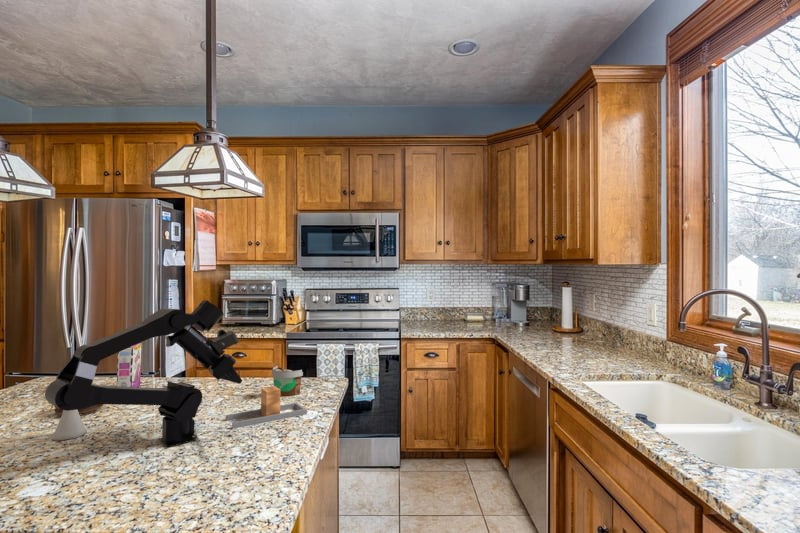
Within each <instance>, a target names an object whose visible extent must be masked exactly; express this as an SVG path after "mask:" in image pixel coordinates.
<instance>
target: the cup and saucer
mask: <svg viewBox="0 0 800 533" xmlns="http://www.w3.org/2000/svg"><path fill="white" fill-rule="evenodd" d="M104 405H105V404H100V405H96V406H93V407H89V408H84V409H78V412H79V415H80V416H83V415H86V414H90V413H94V412H95V411H97V410H100V409H101V408H102V407H103V406H104ZM54 413H55V414H57V415H58V416H62V413H63V410H62V409H60V408H58V407H56V406H54Z"/></svg>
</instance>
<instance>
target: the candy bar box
mask: <svg viewBox="0 0 800 533" xmlns="http://www.w3.org/2000/svg"><path fill="white" fill-rule="evenodd" d="M142 344H143V342H141V343H138V344H136V345H134V346H132V347H129V348H127V349H125V350H122V351H120V352H118V353H117V365H116V366H117V367H116V386H122V387H141V371H142V369H141V368H142V366H141V365H142V348H143V345H142Z"/></svg>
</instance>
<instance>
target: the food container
mask: <svg viewBox="0 0 800 533" xmlns="http://www.w3.org/2000/svg"><path fill="white" fill-rule="evenodd" d="M270 375H271V377H272V379H273V386H276V387H277V388H279V389H280V397H294V396H298V395H300V394H301V387H302V386H301V385H302V376H304V372H303V369H298V370H293V369H289V368H287V369H284V368H279V367H278V365H276V366H273V368H272V369H271V373H270Z"/></svg>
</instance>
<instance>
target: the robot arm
mask: <svg viewBox="0 0 800 533" xmlns="http://www.w3.org/2000/svg"><path fill="white" fill-rule="evenodd" d="M224 316H225V314H224V312H223V311H222V309H221V308H220V307H217V305H215V304H213V303H211V302H210V300H206V299H203V300H201V302H199V304H198V306H197V307H196V308H195V309H193V311H192V312H191V313H187V312H184V310H183V309H179V308H178V309H177V308H171V307H169V308H168V307H164V308H160V309H159V310H157V311H155V312H154V313H152V314H150V315H148V316H147V317H146V318H145V319H144V320H142V321H140V322H139V323H137V324H135V325H132V326H130V327H127V328H125V329H122V330H120V331H117V332H115V333H113V334H110V335H107V336H105V337H102V338H100V339H97V340H95V341H93V342H89V343H87V344H86V343H85V344H82V345H80V346H79V347H77V348H76V349H75V351H74V353H73V355H72V356H71V358H70V359H69V361H68V362H67V363H66V364H65V365H64V366H63V368H62V369H61V370H60V371H59V373H58V374H57V376H56V378H55V380H53V381H51V383H49V384H48V386H46V389H45V391H44V396H45V400H46V401H47V403H48V404H50V405H53V406H54V407H55V406H56V407H58V408H60V409H62V410H66V411H70V410H77V409H84V408H89V407H93V406H96V405H100V404H104V405H118V406H119V405H125V406H127V405H128V406H130V405H131V406H134V405H135V406H137V405H138V406H159V407H158V408H157V410H158V413H159V415H160V416H161V417H162V424H161V427H162V428H161V431H162V432H161V437H159V441H160V442H161V443H162V444H163V445H164V446H165V447H166V448H170V447H174V446H177V445H182V444H185V443H189V442H193V441H195V440H196V439H195V437H194V436H195V425H196V423H195V419H194V418H196V415H197V413H198V410H199V407H200V405H201V403H202V402H203V401H202V400H203V393H202V390H201V389H200V388H197V387H196V385H194V384H192V383H189V382H188V383H187V382H184V381H180V382H173V381H169V380H168V381H167V386H164V387H159V388H157V387H141V386H139V387H122V386H117V385H100V384H96V383H93V382H94V379H95V376H96V371H97V368H98V365H99V363H100V362H101V361H102V360H104V359H107V358H108V357H111V356H113V355H116V354H118V352H120V351H122V350H125V349H127V348H129V347H132V346H134V345H136V344H138V343H143V342H145V341H148V340H149V339H152V338H157V337H163V336H165V340H166V341H165V346H166V347H167V348H168V347H169V348H170V347H173V346H174V345H175V344H177V345H178V346H179V347H180V348H182V349H183V351H185V352H187V354H189V356H191V357H192V358H193V359H194V360H195V361H197V362H198V363H199V364H200V365H201V366H202V367H204V369H206V370H208V371H209V373H210V375H211V376H213V377H214V379H216V380H218V381H219V380H223V381H224V380H225V381H228V382H232V383H236V384H238V385H239V384H241V383H242V382H243V379H242V378H241V377H240V375H239V374H238V372H237V371H236V369H235V368H234V365H235V364H236V362H237V360H236V358H235V357H233V356H232V355H230V354H229V353H227V354H226V353H225V352H226V351H225V350H226V349H228V348H230V347H232V346H233V345H238V344H239V343H240V341H239V338H238V336H237V335H236V332H235V331H234V330H228V331H225V330H224V329H220V330H217V332H216V337H215V338H213V339H210V338H209V337H206V336H205V335H204V334H203V333H204V331H206V332H210V331H211V330H212V328H213V327H214V326H216V324H218V322H219V321H220V320H221V319H222V318H223V317H224ZM202 332H203V333H202Z"/></svg>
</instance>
